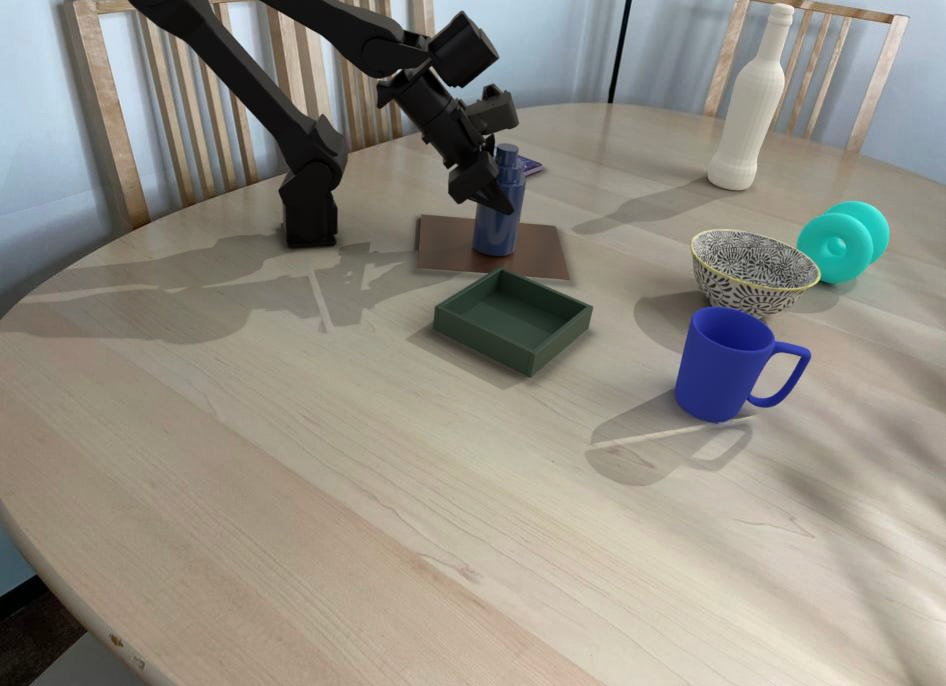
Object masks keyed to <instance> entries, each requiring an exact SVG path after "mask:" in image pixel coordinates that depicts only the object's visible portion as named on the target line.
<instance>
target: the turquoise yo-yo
mask: <svg viewBox="0 0 946 686" xmlns="http://www.w3.org/2000/svg"><path fill="white" fill-rule="evenodd" d="M889 242H890V226H889V224H888V221H887V219H886V217H885V216H884V215H883V214H882V212H881V211H880V210H879V209H877V208H876V207H875V206H873V205H871V204H869V203H866V202H863V201H858V200H847V201H842V202H839V203H836V204H834V205H832V206H831V207H829V208H828V209H827V210H825V211H824V212H823V214H821V215H818V216H815V217H814V218H812V219H811V220H810V221H808V222H807V223H806V224H805V225H804V226H803V228H802V229H801V230H800V232H799V234H798V236H797V240H796V246H795V248H796V249H798V250H799V251H801V252H802V253H804V254H805V255H807V256H808V257H809V258H810V259H811V260H812V261H813V262H814V263H815V264H816V265H817V266H818V268H819V270H820V273H821V277H820V279H819V281H821V282H824V283H828V284H843V283H847V282H849V281H852V280H855V279H856V278H858V277H859V276H860V275H861V274H863V273H864V272H865V271H866V269H868V267H869V265H872V264H874V263H875V262H876V261H878V260H879V259H880V258H881V257H882V256H883V254H884V253H885V252H886V250H887V248H888V245H889Z"/></svg>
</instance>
